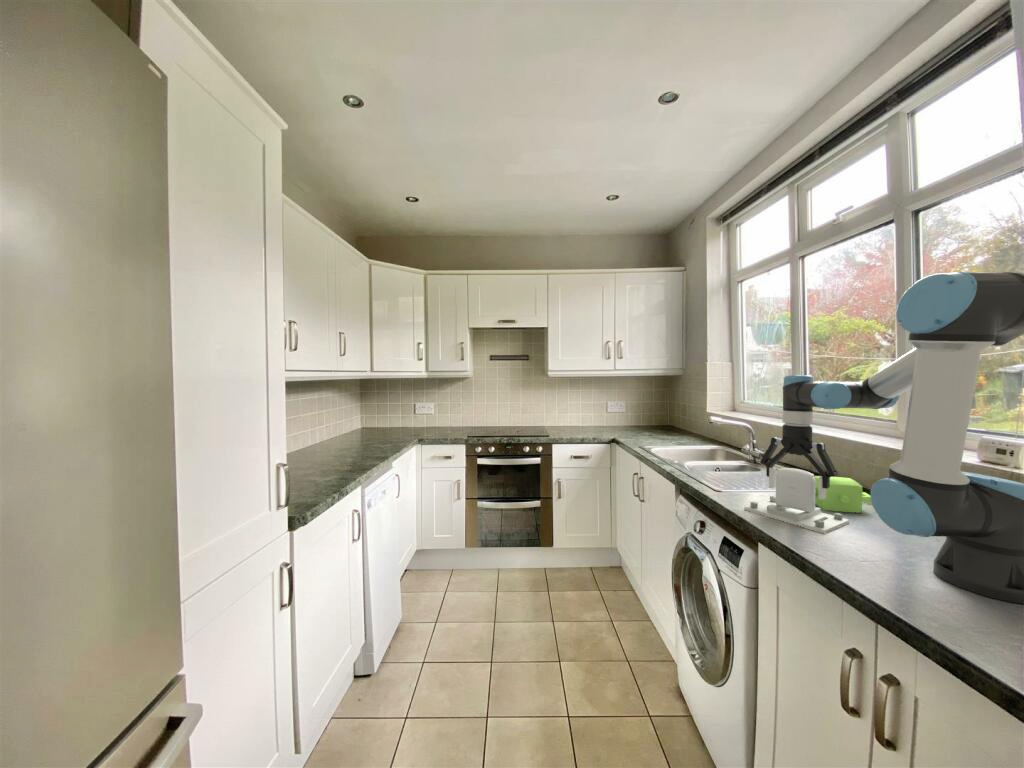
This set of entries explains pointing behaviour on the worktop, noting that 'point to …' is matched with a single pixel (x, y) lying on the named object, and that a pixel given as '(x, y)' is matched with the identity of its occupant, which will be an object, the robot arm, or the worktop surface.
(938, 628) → the worktop surface
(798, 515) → the plate
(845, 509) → the gearbox
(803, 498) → the photo printer
